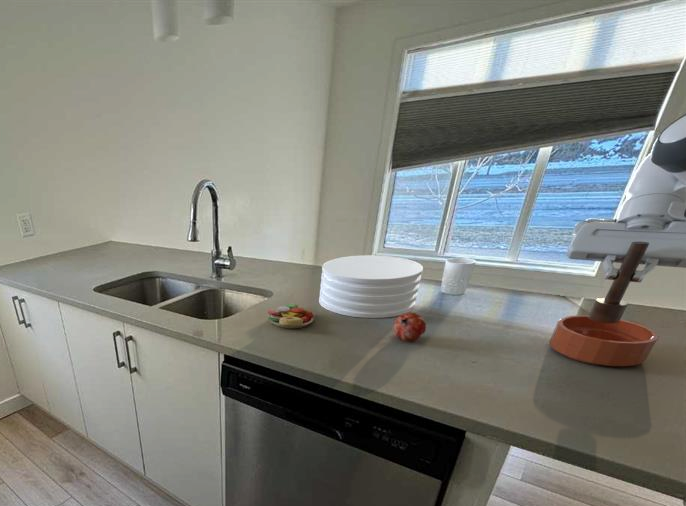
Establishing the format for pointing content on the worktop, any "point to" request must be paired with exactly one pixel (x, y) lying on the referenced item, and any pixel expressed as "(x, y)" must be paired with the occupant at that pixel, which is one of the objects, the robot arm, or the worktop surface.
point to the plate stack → (370, 286)
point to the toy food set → (291, 316)
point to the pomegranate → (409, 327)
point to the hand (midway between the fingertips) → (623, 279)
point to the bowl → (603, 341)
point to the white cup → (457, 275)
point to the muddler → (619, 287)
